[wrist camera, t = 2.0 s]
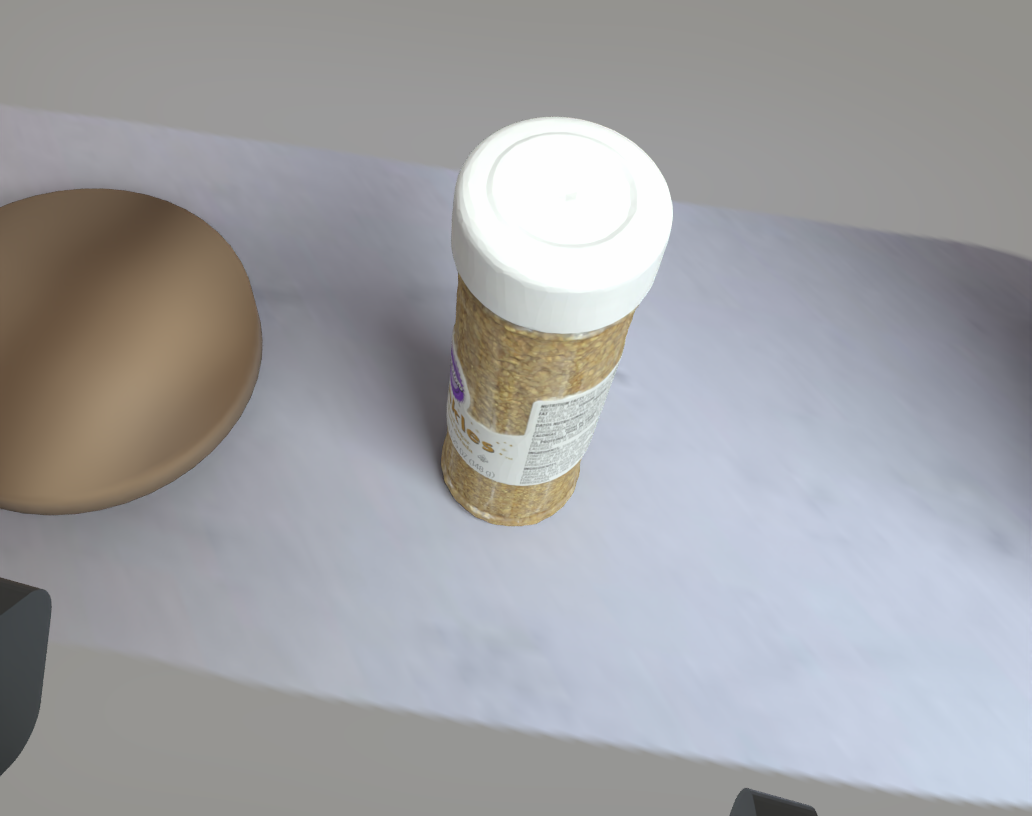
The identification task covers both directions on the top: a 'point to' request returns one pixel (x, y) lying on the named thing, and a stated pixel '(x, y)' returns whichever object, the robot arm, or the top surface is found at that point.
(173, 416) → the disc
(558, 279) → the sprinkles bottle
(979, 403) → the top surface
